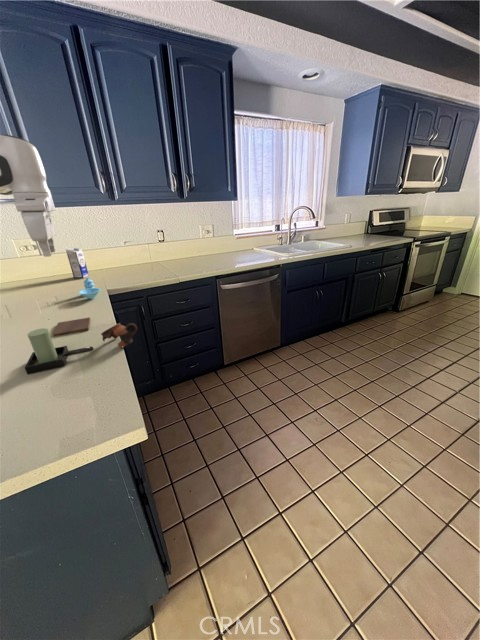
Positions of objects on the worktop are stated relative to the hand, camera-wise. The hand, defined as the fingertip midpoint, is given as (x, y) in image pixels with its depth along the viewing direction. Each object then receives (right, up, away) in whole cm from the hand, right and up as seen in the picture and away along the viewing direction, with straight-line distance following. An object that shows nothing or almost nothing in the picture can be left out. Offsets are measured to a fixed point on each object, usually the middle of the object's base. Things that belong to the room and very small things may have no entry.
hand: (50, 254), depth 80 cm
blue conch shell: (-24, -7, +65) cm, 69 cm away
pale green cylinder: (-4, -34, +5) cm, 34 cm away
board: (-11, -23, +29) cm, 38 cm away
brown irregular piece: (+15, -28, +16) cm, 36 cm away
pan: (0, -33, +6) cm, 34 cm away
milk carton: (-53, +10, +104) cm, 117 cm away
